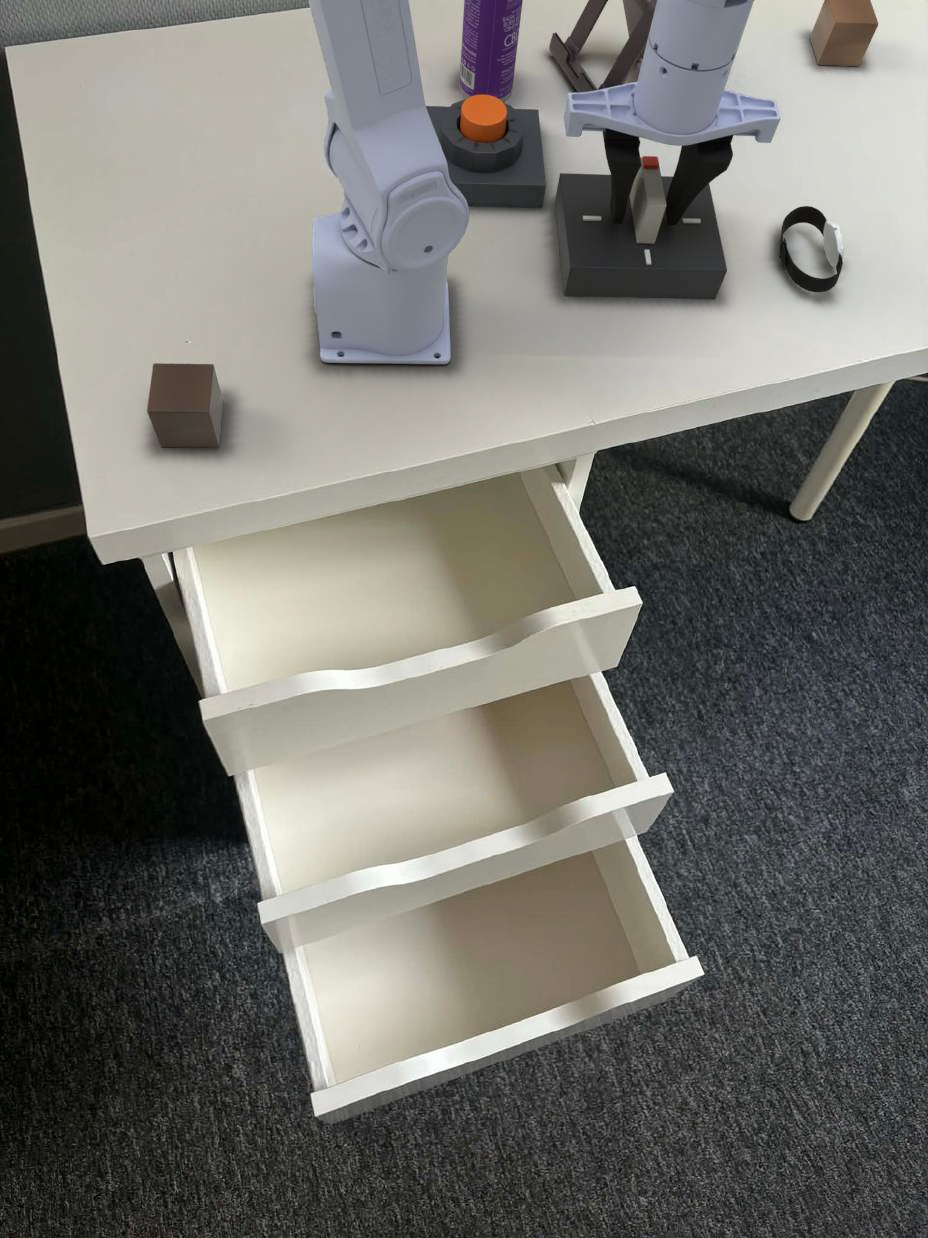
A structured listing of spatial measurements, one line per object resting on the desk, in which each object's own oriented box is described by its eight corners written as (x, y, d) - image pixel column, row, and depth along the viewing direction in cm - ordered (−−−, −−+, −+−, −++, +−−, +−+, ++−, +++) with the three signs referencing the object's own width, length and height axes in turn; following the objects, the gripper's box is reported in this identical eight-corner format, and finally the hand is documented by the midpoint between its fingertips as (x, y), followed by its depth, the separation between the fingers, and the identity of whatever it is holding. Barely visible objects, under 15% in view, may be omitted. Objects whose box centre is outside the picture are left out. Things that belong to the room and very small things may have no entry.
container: (507, 110, 82) (528, -79, 69) (454, 100, 82) (465, -91, 69) (516, 76, 84) (539, -115, 71) (464, 66, 84) (477, -126, 71)
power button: (460, 143, 75) (462, 123, 73) (459, 113, 76) (460, 92, 75) (506, 145, 75) (508, 125, 73) (503, 114, 77) (505, 94, 75)
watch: (846, 296, 75) (866, 261, 72) (790, 300, 75) (808, 265, 71) (817, 226, 78) (835, 189, 75) (763, 229, 78) (779, 192, 75)
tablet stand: (546, 55, 86) (561, -43, 78) (623, 38, 87) (645, -59, 80) (589, 118, 82) (608, 22, 75) (668, 99, 84) (694, 4, 76)
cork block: (817, 64, 87) (835, 21, 84) (809, 37, 89) (826, -7, 86) (859, 66, 88) (879, 23, 84) (850, 38, 89) (869, -5, 86)
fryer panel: (563, 296, 73) (570, 265, 70) (554, 203, 78) (560, 170, 75) (715, 299, 74) (728, 268, 71) (697, 207, 78) (708, 175, 76)
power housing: (419, 204, 77) (420, 162, 73) (418, 128, 80) (419, 84, 77) (542, 207, 77) (549, 165, 74) (535, 132, 81) (541, 88, 78)
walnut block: (160, 447, 65) (146, 411, 62) (166, 400, 67) (152, 362, 63) (219, 448, 65) (209, 411, 62) (223, 401, 67) (213, 363, 64)
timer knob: (654, 243, 72) (667, 202, 69) (636, 243, 72) (648, 201, 69) (646, 196, 74) (659, 154, 71) (629, 196, 74) (640, 153, 71)
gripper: (791, 7, 63) (727, 180, 75) (575, -2, 62) (545, 175, 74) (812, 77, 60) (741, 246, 72) (584, 69, 59) (552, 241, 71)
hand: (643, 215), depth 73 cm, fingers open, 4 cm apart
